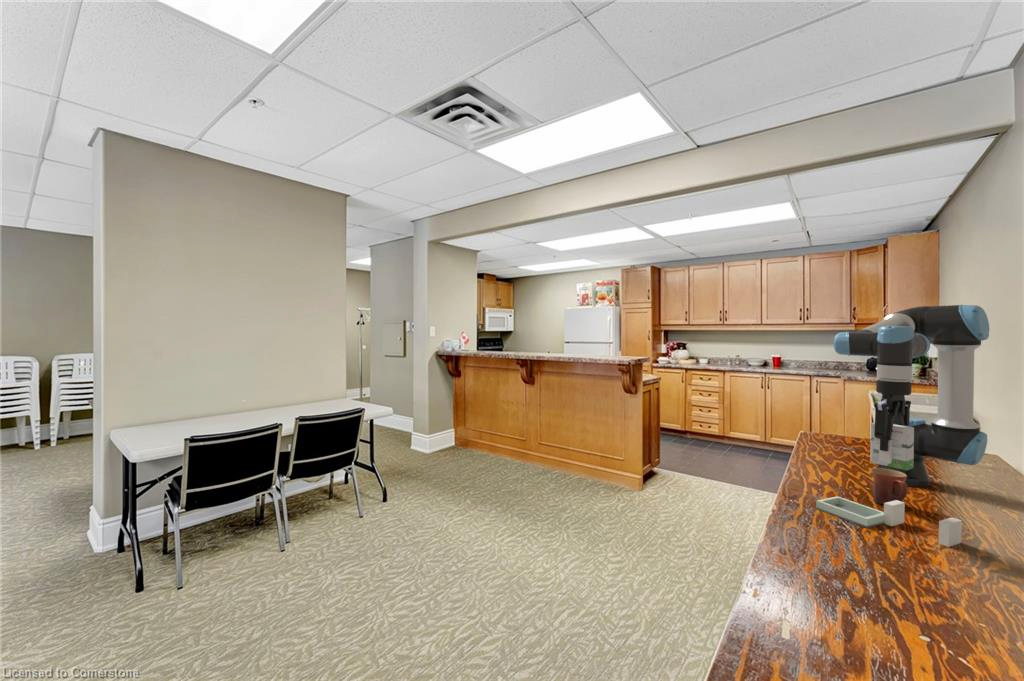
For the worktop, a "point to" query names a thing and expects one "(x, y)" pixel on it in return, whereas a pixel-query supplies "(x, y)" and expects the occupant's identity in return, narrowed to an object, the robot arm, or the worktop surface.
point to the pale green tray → (851, 511)
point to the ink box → (896, 447)
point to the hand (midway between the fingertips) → (891, 460)
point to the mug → (888, 485)
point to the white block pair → (947, 527)
